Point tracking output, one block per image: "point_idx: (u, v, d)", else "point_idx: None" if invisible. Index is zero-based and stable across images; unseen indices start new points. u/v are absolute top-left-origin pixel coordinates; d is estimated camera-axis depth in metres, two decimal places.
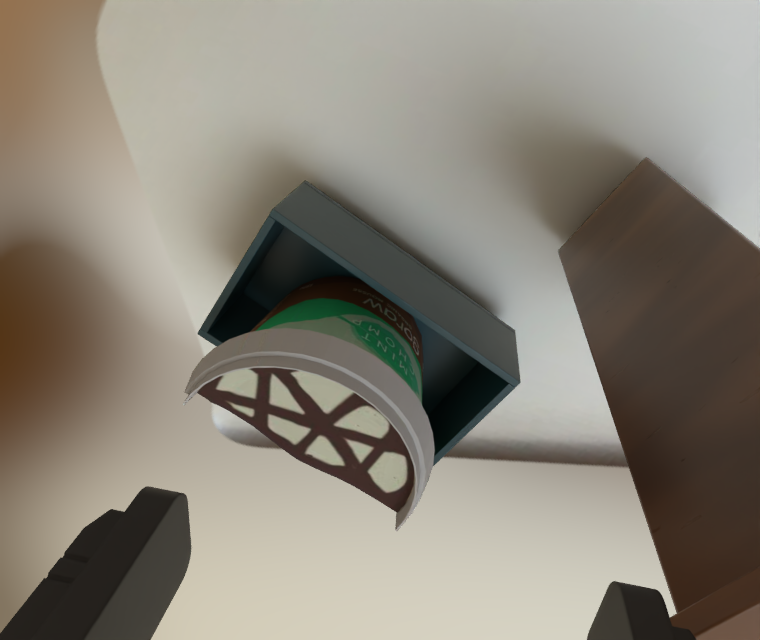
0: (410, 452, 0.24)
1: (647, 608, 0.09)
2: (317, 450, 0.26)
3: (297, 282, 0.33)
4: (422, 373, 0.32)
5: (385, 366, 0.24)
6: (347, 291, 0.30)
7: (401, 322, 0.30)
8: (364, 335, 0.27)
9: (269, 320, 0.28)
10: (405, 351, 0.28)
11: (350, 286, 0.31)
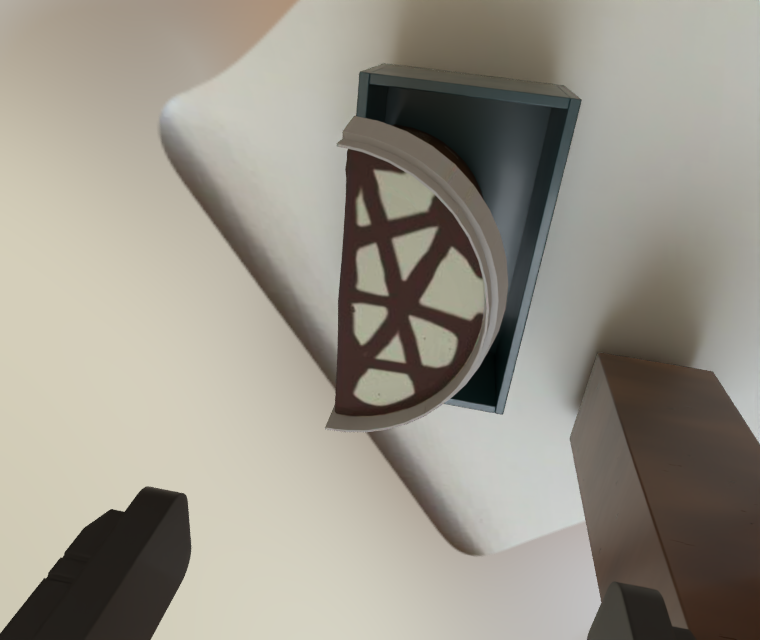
0: (439, 405, 0.21)
1: (647, 608, 0.09)
2: (365, 314, 0.21)
3: (439, 133, 0.27)
4: None
5: (500, 325, 0.21)
6: None
7: None
8: None
9: None
10: None
11: None
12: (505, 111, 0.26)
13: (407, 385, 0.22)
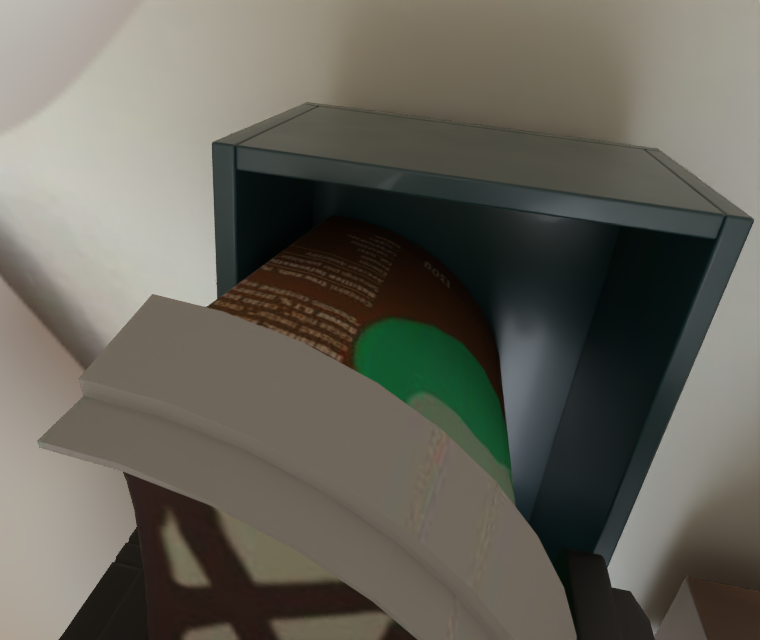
0: None
1: (589, 570, 0.10)
2: None
3: (414, 232, 0.14)
4: None
5: None
6: (498, 378, 0.13)
7: None
8: None
9: (398, 330, 0.10)
10: None
11: (496, 362, 0.14)
12: None
13: None
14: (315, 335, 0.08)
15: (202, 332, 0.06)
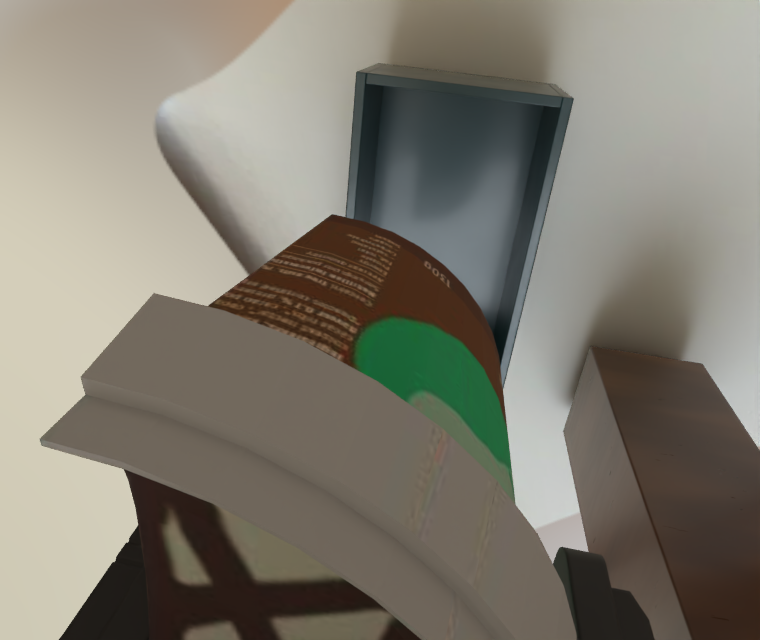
0: None
1: (589, 570, 0.10)
2: None
3: (433, 132, 0.27)
4: None
5: None
6: (497, 377, 0.13)
7: None
8: None
9: (399, 329, 0.10)
10: None
11: (496, 362, 0.14)
12: (498, 110, 0.26)
13: None
14: (315, 334, 0.08)
15: (203, 331, 0.06)
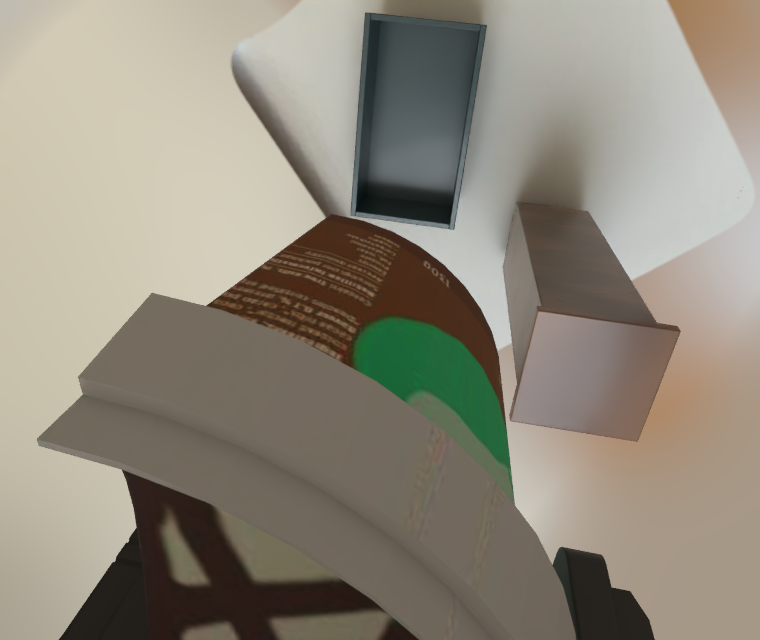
0: None
1: (589, 570, 0.10)
2: None
3: (411, 57, 0.44)
4: None
5: None
6: (497, 377, 0.13)
7: None
8: None
9: (398, 329, 0.10)
10: None
11: (496, 362, 0.14)
12: (450, 41, 0.43)
13: None
14: (314, 334, 0.08)
15: (201, 331, 0.06)
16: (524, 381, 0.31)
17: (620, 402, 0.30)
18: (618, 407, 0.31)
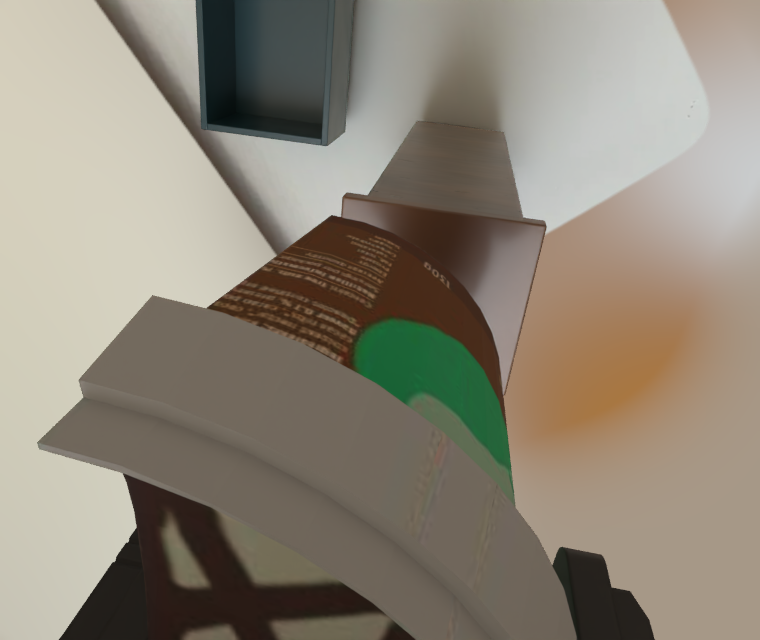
0: None
1: (589, 570, 0.10)
2: None
3: None
4: None
5: None
6: (497, 378, 0.13)
7: None
8: None
9: (398, 331, 0.10)
10: None
11: (496, 363, 0.14)
12: None
13: None
14: (315, 336, 0.08)
15: (202, 333, 0.06)
16: None
17: None
18: None
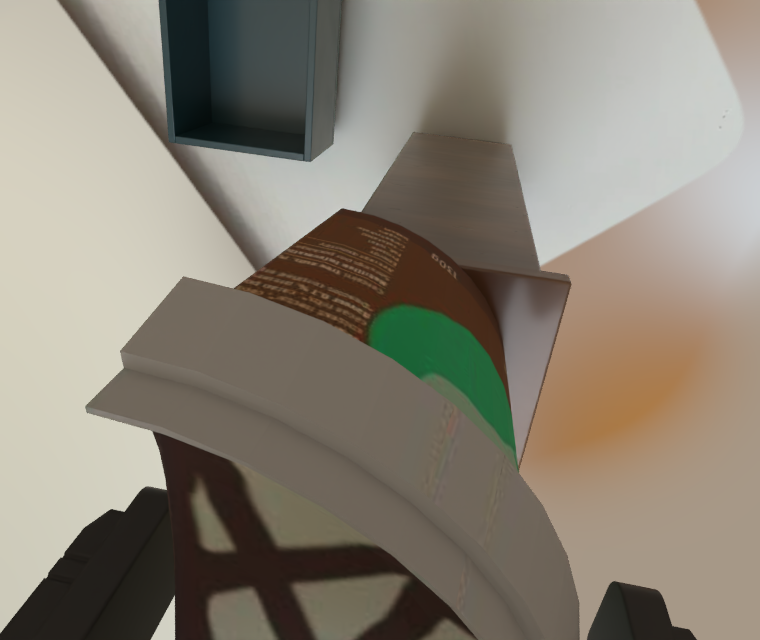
0: None
1: (647, 608, 0.09)
2: None
3: None
4: None
5: None
6: (502, 366, 0.14)
7: None
8: None
9: (409, 316, 0.10)
10: None
11: (501, 351, 0.14)
12: None
13: None
14: (332, 318, 0.09)
15: (231, 311, 0.07)
16: None
17: None
18: None
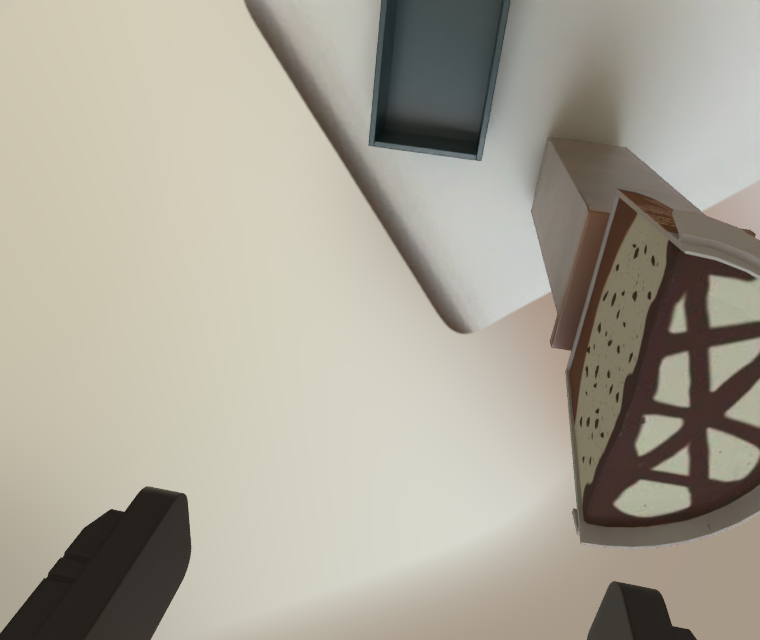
0: (733, 525, 0.19)
1: (647, 608, 0.09)
2: (656, 425, 0.18)
3: None
4: None
5: None
6: None
7: None
8: None
9: None
10: None
11: None
12: None
13: (683, 498, 0.20)
14: None
15: (705, 221, 0.16)
16: (569, 298, 0.27)
17: None
18: None
